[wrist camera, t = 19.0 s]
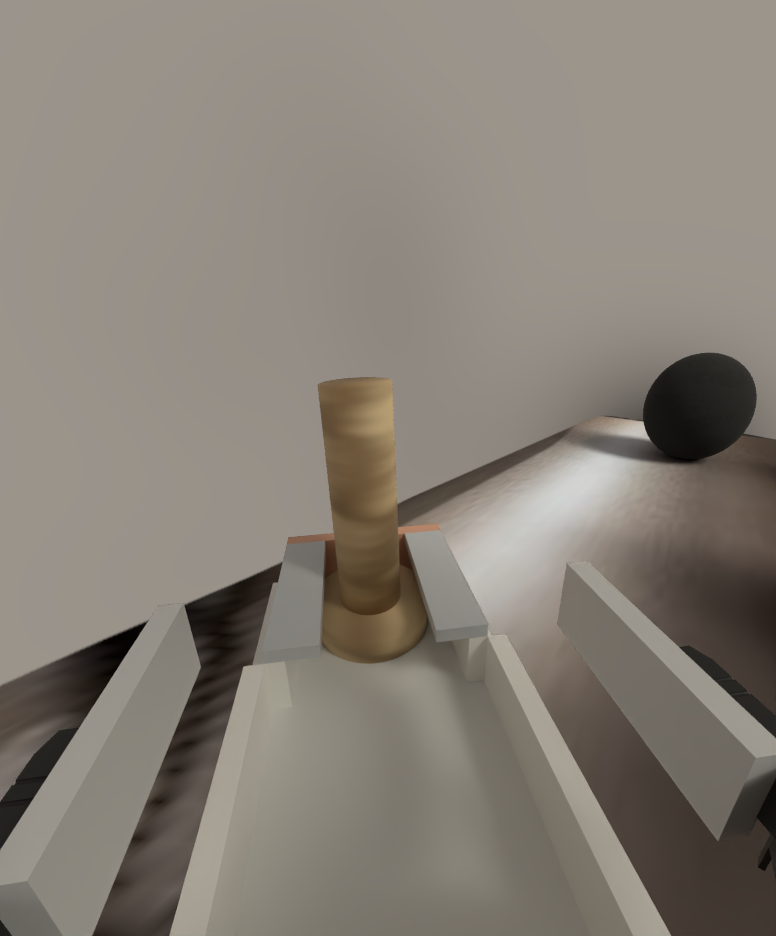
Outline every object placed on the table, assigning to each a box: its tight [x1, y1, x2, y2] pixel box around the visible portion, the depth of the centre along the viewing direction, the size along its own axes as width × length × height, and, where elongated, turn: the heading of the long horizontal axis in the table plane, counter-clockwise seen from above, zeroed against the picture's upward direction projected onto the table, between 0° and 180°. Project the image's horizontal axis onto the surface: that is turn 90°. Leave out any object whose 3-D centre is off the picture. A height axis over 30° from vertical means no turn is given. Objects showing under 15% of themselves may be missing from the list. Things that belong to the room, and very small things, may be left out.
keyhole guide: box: [169, 524, 671, 936], centre depth 19 cm, size 15×24×5 cm, turn 7°
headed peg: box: [318, 377, 428, 664], centre depth 23 cm, size 8×8×16 cm
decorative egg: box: [643, 353, 756, 459], centre depth 54 cm, size 12×12×15 cm
